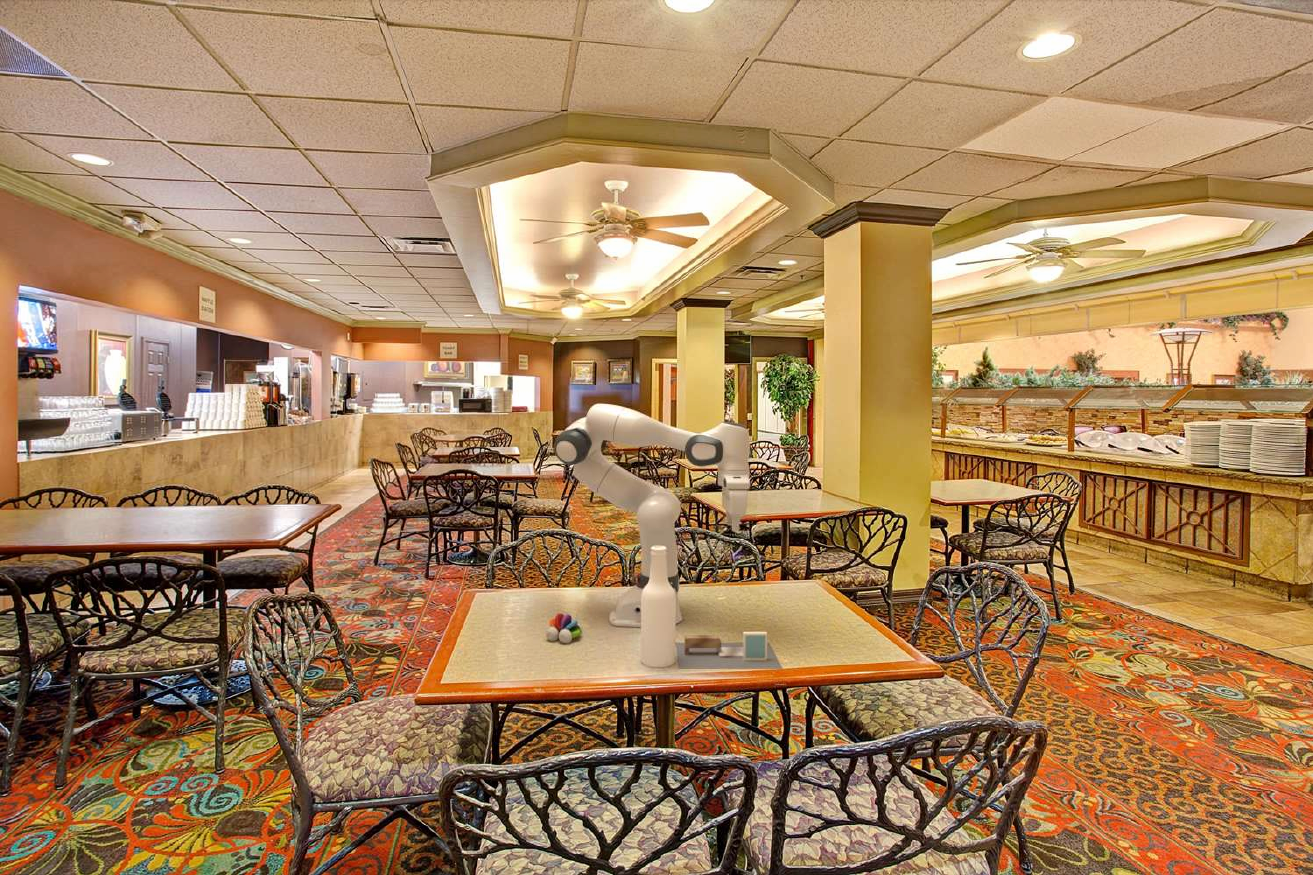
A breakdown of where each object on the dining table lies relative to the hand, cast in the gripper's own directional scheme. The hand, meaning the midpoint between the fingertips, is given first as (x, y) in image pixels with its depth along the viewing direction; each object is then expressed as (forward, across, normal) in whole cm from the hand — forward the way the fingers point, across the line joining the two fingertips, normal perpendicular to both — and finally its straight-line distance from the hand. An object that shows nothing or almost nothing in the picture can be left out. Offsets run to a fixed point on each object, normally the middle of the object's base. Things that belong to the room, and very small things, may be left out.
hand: (732, 527), depth 186 cm
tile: (+31, +18, +3) cm, 36 cm away
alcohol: (+32, +19, -22) cm, 43 cm away
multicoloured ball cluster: (+32, 0, -47) cm, 57 cm away
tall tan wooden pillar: (+31, +14, -6) cm, 34 cm away
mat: (+31, +15, -4) cm, 35 cm away
